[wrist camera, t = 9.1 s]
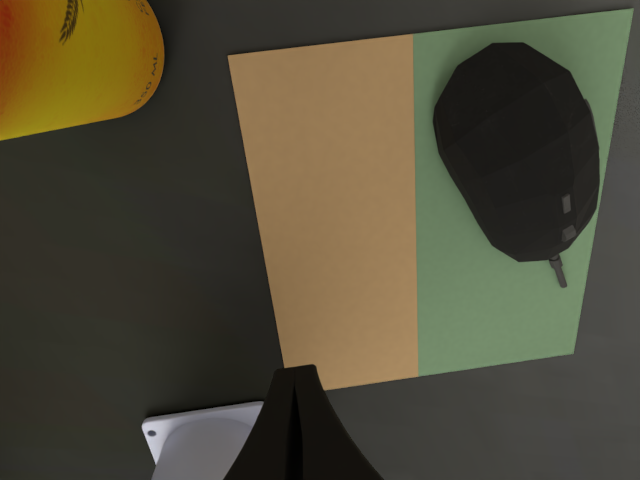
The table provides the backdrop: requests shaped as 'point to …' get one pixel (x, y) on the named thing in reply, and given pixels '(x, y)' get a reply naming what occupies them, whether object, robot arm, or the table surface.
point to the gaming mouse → (520, 150)
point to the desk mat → (403, 204)
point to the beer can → (75, 62)
